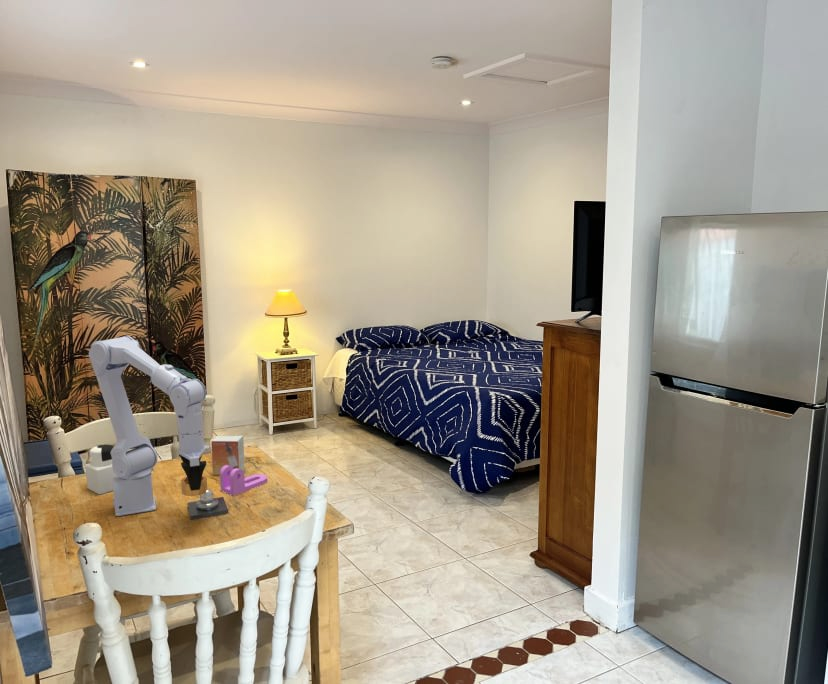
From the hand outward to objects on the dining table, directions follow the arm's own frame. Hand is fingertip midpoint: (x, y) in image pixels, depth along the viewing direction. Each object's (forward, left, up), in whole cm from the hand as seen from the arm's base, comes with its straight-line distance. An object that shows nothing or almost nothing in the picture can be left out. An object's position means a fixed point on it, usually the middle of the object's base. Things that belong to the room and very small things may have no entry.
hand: (194, 485), depth 163 cm
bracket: (+15, +18, -10) cm, 25 cm away
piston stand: (+3, +6, -9) cm, 12 cm away
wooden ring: (0, 0, -2) cm, 2 cm away
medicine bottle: (-21, +33, -10) cm, 40 cm away
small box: (+12, +31, -10) cm, 35 cm away
